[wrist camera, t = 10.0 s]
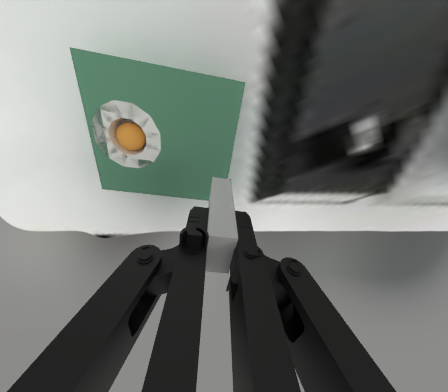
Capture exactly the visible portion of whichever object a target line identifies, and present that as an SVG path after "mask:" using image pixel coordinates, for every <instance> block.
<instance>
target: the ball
mask: <svg viewBox="0 0 448 392" xmlns="http://www.w3.org/2000/svg"><path fill="white" fill-rule="evenodd" d="M116 138H117V140H118V142H119V144H120V145H121V146H122V147H124V148H126V149H128V150H139V149H141V148H142V147H143V146H144V145H145V143H146V135H145V133H144V132H143V130H142V128H141V127H140V126H138V125H137V124H134V123H124V124H122V125H120V126H119V127H118V129H117V131H116Z"/></svg>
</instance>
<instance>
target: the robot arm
mask: <svg viewBox="0 0 448 392" xmlns="http://www.w3.org/2000/svg"><path fill="white" fill-rule="evenodd" d="M229 269H230V279H229V282H228V285H227V290H226V291H228V290H229V300H230V301H229V303H230V325H231V346H232V348H231V349H232V372H233V392H301V391H300V387H299V383H298V380H297V376H296V372H297V374H298V377H299V379H300V381H301V384H302V386H303V388H304V391H305V392H396V391H395V389H394V388H393V387H392V385H391V384H390V383H389V381H388V380H387V378H386V377H385V376H384V375H383V373H382V372H381V370H380V369H379V367H378V366H377V365H376V363H375V362H374V361H373V359H372V358H371V357H370V355H369V354H368V352H367V351H366V350H365V348H364V347H363V346H362V344H361V343H360V341H359V340H358V339H357V337H356V336H355V335H354V333H353V332H352V331H351V329H350V328H349V326H348V325H347V324H346V322H345V321H344V320H343V318H342V317H341V315H340V314H339V313H338V311H337V310H336V309H335V307H334V306H333V305H332V303H331V302H330V301H329V299H328V298H327V296H326V295H325V294H324V292H323V291H322V290H321V288H320V287H319V285H318V284H317V283H316V281H315V280H314V279H313V277H312V276H311V275H310V273H309V272H308V270H307V269H306V268H305V266H303V265H302V263H300V262H299V261H297V260H296V259H293V258H287V257H286V258H284V259H282V260H281V262H279V261H276V260H274V259H271V258H269V257H267V256H265V255H264V254H263V252H262V250H261V249H260V248H259V247H258V246H257V243H256V239H255V235H254V231H253V227H252V224H251V219H250V216H249V215H248V214H247V213H246V212H240V211H235V209H234V201H233V193H232V185H231V179H224V178H217V177H212V184H211V191H210V198H209V205H208V208H203V207H195V206H194V207H193V208H192V209H191V210H190V213H189V217H188V221H187V225H186V228H184V229H183V230H182V231H181V233H180V244H179V245H178V246H176V247H174V248H171V249H167V250H161V251H160V249H159V248H158V247H156V246H154V245H144V246H140V247H139V248H136V249H135V250H134V251H133V252H131V253H130V255H129V256H128V257H127V258H126V259H125V260H124V261H123V262H122V264H121V265H120V266H119V267H118V268H117V269H116V270H115V271H114V273H113V274H112V275H111V276H110V277H109V278H108V279H107V280H106V281H105V283H104V284H103V285H102V286H101V287H100V288H99V289H98V290H97V292H96V293H95V294H94V295H93V296H92V297H91V298H90V299H89V300H88V302H87V303H86V304H85V305H84V306H83V307H82V308H81V310H80V311H79V312H78V313H77V314H76V315H75V316H74V317H73V318H72V319H71V321H70V322H69V323H68V324H67V325H66V326H65V327H64V328H63V330H62V331H61V332H60V333H59V334H58V335H57V337H55V339H54V340H53V341H52V342H51V343H50V344H49V346H47V347H46V349H45V350H44V351H43V352H42V353H41V354H40V356H38V358H37V359H36V360H35V361H34V362H33V363H32V364H31V365H30V367H29V368H28V369H27V370H26V371H25V372H24V373H23V374H22V375H21V377H20V378H19V379H18V380H17V381H16V382H15V383H14V384H13V386H12V387H11V388H10V389H9V390H8V391H7V392H108V391H109V390H110V388H111V386H112V384H113V382H114V380H115V379H116V377H117V375H118V373H119V371H120V369H121V368H122V366H123V364H124V362H125V360H126V358H127V356H128V355H129V353H130V351H131V349H132V347H133V345H134V344H135V342H136V340H137V338H138V336H139V334H140V333H141V331H142V329H143V327H144V325H145V323H146V322H147V319H148V318H149V316H150V314H151V312H152V310H153V309H154V307H155V305H156V303H157V301H158V299H159V298H160V296H161V294H164V293H167V296H166V301H165V304H164V308H163V312H162V316H161V320H160V323H159V327H158V331H157V335H156V338H155V342H154V346H153V350H152V354H151V358H150V362H149V365H148V369H147V374H146V377H145V381H144V385H143V389H142V392H196V382H197V370H198V358H199V357H198V356H199V345H200V332H201V319H202V307H203V294H204V281H205V271H208V272H220V273H229ZM295 370H296V372H295Z"/></svg>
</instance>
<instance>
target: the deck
mask: <svg viewBox="0 0 448 392" xmlns="http://www.w3.org/2000/svg"><path fill="white" fill-rule="evenodd" d="M70 51H71V55H72V60H73V64H74V68H75V73H76V77H77V81H78V85H79V90H80V94H81V98H82V103H83V107H84V111H85V116H86V120H87V124H88V129H89V133H90V137H91V142H92V146H93V150H94V155H95V159H96V163H97V168H98V172H99V176H100V181H101V185H102V189H107V190H116V191H125V192H135V193H144V194H153V195H162V196H171V197H181V198H190V199H199V200H208V201H209V198H210V191H211V184H212V177H217V178H224V179H227V177H228V172H229V166H230V161H231V156H232V150H233V145H234V140H235V134H236V129H237V124H238V118H239V113H240V107H241V102H242V97H243V91H244V86H245V82H240V81H235V80H230V79H225V78H220V77H215V76H210V75H205V74H200V73H195V72H190V71H185V70H180V69H175V68H170V67H165V66H160V65H155V64H150V63H145V62H140V61H135V60H130V59H125V58H120V57H115V56H110V55H105V54H100V53H95V52H90V51H85V50H80V49H75V48H70ZM124 118H126V119H131V120H132V121H134V122H135V123H137V124H138V125H139V126H140V127H141V128H142V130H143V132H144V133H145V135H146V147H145V148H141V149H139V150H128V149H126V148H124V147H122V146H121V145H120V144H119V142H118V140H117V138H116V131H117V129H118V127H119V126H120V125H121V124H122V122H123V120H124Z"/></svg>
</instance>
